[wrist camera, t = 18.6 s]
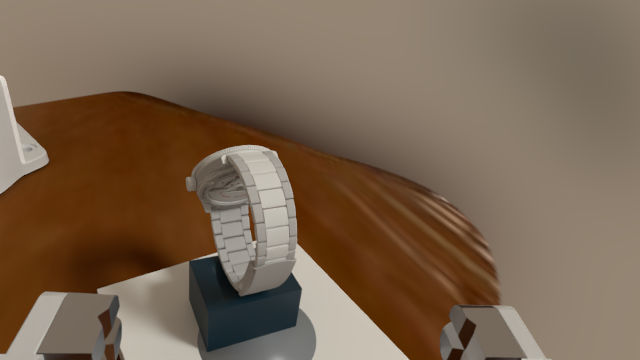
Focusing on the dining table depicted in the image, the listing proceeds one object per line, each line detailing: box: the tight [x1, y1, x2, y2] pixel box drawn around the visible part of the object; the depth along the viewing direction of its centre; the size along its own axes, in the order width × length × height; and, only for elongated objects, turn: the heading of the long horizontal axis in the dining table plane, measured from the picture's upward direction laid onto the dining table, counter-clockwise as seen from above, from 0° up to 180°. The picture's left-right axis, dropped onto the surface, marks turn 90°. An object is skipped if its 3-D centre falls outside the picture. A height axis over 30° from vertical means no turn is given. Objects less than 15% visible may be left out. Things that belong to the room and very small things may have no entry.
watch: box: [186, 145, 302, 352], centre depth 25 cm, size 6×8×11 cm
